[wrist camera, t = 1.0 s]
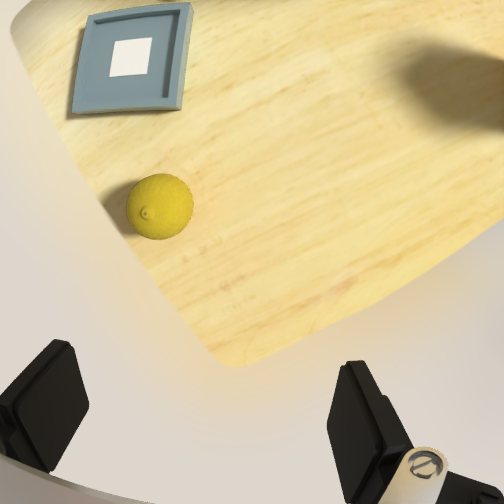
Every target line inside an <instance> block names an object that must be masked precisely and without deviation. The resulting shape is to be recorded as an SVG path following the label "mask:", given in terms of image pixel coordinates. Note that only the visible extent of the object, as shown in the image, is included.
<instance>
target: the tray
mask: <svg viewBox="0 0 504 504" xmlns="http://www.w3.org/2000/svg"><path fill="white" fill-rule="evenodd" d="M193 14H194V11H193V8H192V6H191V4H190V2H188V3H172V4H160V5H150V6H142V7H134V8H127V9H121V10H115V11H109V12H104V13H99V14H94V15H89V16H88V19H87V23H86V27H85V32H84V36H83V41H82V46H81V51H80V56H79V62H78V68H77V74H76V80H75V87H74V95H73V103H72V112H73V113H77V114H93V113H105V112H120V111H142V110H181V109H182V99H183V89H184V80H185V71H186V63H187V55H188V48H189V41H190V34H191V27H192V20H193Z"/></svg>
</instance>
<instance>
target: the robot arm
mask: <svg viewBox="0 0 504 504" xmlns="http://www.w3.org/2000/svg"><path fill="white" fill-rule="evenodd" d="M88 409H89V401H88V397H87V394H86V391H85V388H84V384H83V381H82V377H81V373H80V370H79V366H78V362H77V358H76V354H75V350H74V348H73V347H72V346H71V345H70V343H69V342H67V341H63V340H57V339H54V340H53V341H52V342H51V343H50V344H49V345H48V346H47V347H46V348H45V349H44V350H43V351H42V352H41V353H40V354H39V355H38V356H37V357H36V358H35V359H34V360H33V361H32V362H31V363H30V364H29V365H28V366H27V367H26V368H25V369H24V370H23V371H22V373H20V375H19V376H18V377H17V378H16V379H15V380H14V381H13V382H12V383H11V384H10V385H9V386H8V387H7V389H6V390H5V391H4V392H3V393H2V394H1V395H0V504H153V503H148V502H142V501H138V500H133V499H129V498H124V497H120V496H116V495H112V494H108V493H104V492H101V491H98V490H94V489H91V488H87V487H84V486H81V485H78V484H75V483H72V482H69V481H66V480H63V479H60V478H58V477H55V476H52V475H50V474H49V473H50V471H54V469H55V468H56V466H57V464H58V462H59V461H60V459H61V457H62V455H63V453H64V451H65V450H66V448H67V446H68V444H69V443H70V441H71V439H72V437H73V435H74V434H75V432H76V430H77V429H78V427H79V425H80V423H81V421H82V420H83V418H84V416H85V415H86V413H87V411H88ZM327 431H328V435H329V439H330V443H331V447H332V450H333V455H334V459H335V463H336V467H337V471H338V474H339V479H340V483H341V487H342V491H343V495H344V499H345V502H346V503H347V504H350V503H351V504H504V496H503V494H502V493H501V491H500V490H498V489H497V488H496V487H494V486H491V485H488V484H485V483H482V482H479V481H476V480H473V479H470V478H467V477H464V476H461V475H458V474H455V473H453V472H450V471H447V470H448V463H447V460H446V458H445V457H444V455H443V454H442V453H440V452H439V451H438V450H435V449H433V448H429V447H417V448H414V447H413V445H412V443H411V441H410V439H409V437H408V435H407V433H406V431H405V429H404V427H403V425H402V423H401V421H400V419H399V417H398V415H397V413H396V411H395V409H394V408H393V406H392V404H391V402H390V400H389V398H388V397H387V396H385V395H382V394H381V392H380V390H379V388H378V386H377V384H376V382H375V380H374V378H373V376H372V374H371V372H370V371H369V369H368V367H367V365H366V363H365V362H364V361H363V360H361V361H360V360H359V361H347V362H346V364H345V365H344V366H343V365H342V366H341V367H340V371H339V376H338V380H337V384H336V388H335V393H334V397H333V401H332V405H331V409H330V413H329V417H328V420H327Z"/></svg>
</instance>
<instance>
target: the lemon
mask: <svg viewBox="0 0 504 504" xmlns="http://www.w3.org/2000/svg"><path fill="white" fill-rule="evenodd" d="M193 205H194V202H193V197H192V194H191V192H190V189H189V188H188V186H187V185H186V184H185V183H184V182H183V181H182V180H180V179H179V178H177V177H175V176H173V175H170V174H155V175H151V176H149V177H146V178H144V179H143V180H141V181H140V182H139V183H138V184H137V185H136V186H135V187H134V188H133V190H132V191H131V193H130V195H129V198H128V200H127V206H126V209H127V217H128V220H129V222H130V224H131V226H132V227H133V229H134V230H135V231H136V232H137V233H139V234H140V235H142V236H143V237H146V238H149V239H153V240H163V239H167V238H171V237H173V236H175V235H177V234H178V233H180V232H181V231H182V230H183V229H184V228H185V227H186V226H187V224H188V223H189V221H190V219H191V216H192V213H193Z"/></svg>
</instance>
